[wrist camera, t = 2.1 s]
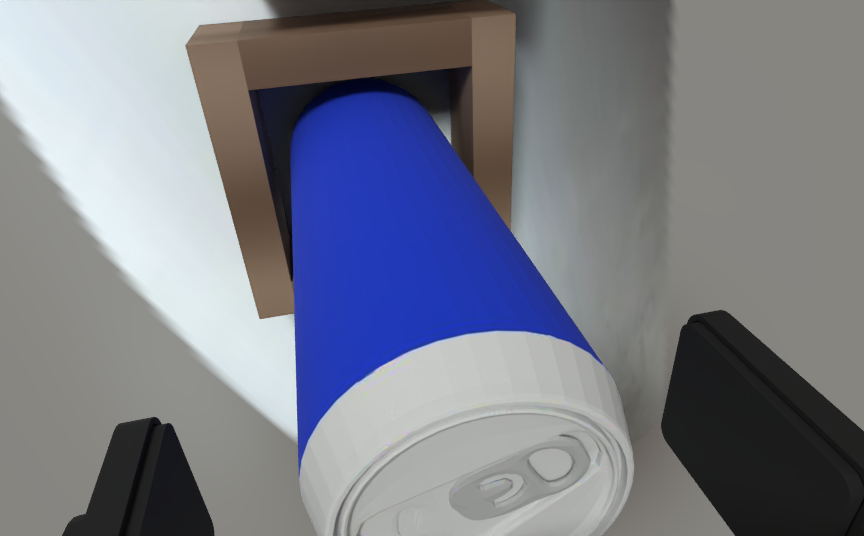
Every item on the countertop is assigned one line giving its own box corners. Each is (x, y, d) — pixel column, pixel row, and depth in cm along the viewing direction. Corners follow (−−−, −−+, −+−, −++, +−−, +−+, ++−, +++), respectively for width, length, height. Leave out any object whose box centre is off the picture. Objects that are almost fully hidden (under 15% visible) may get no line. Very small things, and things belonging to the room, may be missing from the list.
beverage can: (344, 236, 22) (421, 653, 10) (258, 127, 19) (214, 523, 7) (458, 165, 22) (691, 513, 9) (387, 42, 19) (586, 309, 6)
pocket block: (199, 25, 17) (185, 45, 15) (485, -1, 19) (515, 13, 16) (262, 273, 22) (259, 319, 20) (485, 238, 24) (509, 277, 21)
